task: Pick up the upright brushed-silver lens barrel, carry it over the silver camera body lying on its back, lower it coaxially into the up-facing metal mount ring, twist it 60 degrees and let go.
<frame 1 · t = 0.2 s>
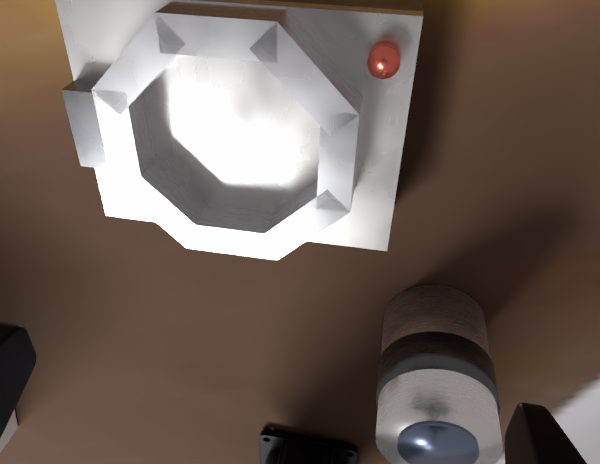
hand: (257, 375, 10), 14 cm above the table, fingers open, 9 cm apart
camera body: (256, 101, 22), on the table
lens: (433, 321, 27), on the table
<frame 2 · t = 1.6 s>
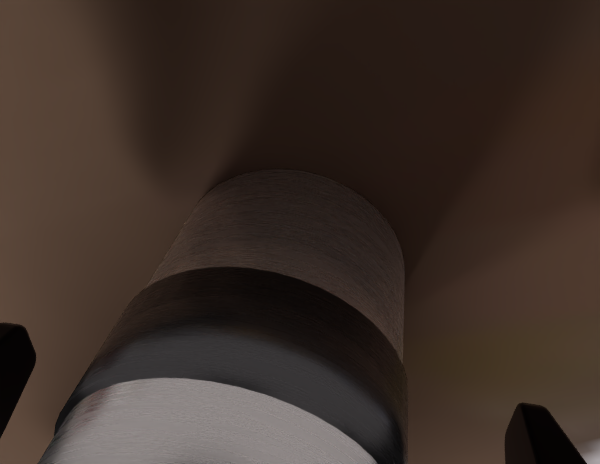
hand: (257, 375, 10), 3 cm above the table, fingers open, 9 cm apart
lens: (291, 267, 12), on the table
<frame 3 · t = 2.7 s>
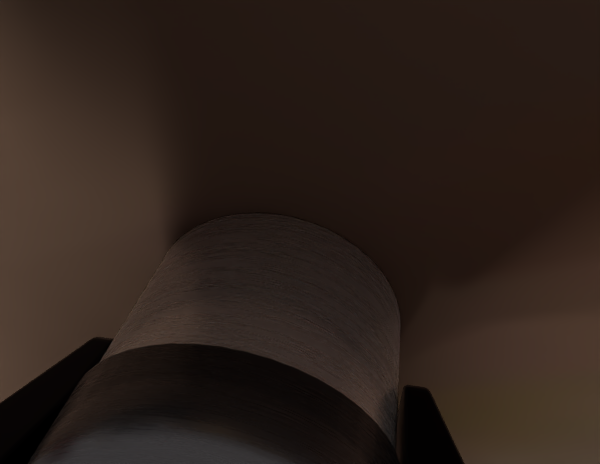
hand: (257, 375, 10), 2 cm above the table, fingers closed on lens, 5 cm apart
lens: (275, 316, 11), on the table, touching gripper
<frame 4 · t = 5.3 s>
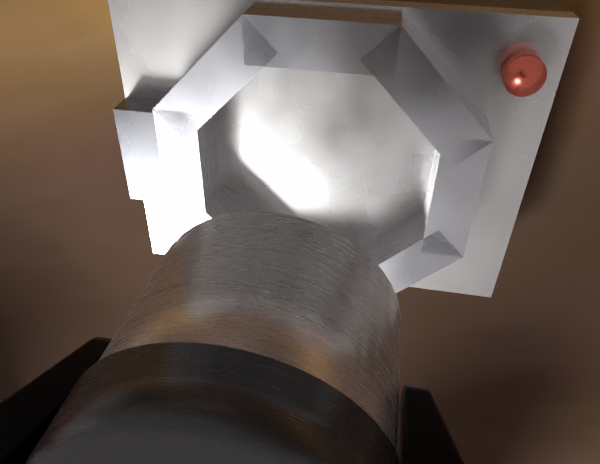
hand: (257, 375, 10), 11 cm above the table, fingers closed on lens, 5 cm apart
camera body: (333, 120, 18), on the table
lens: (275, 315, 11), point 10 cm above the table, touching gripper
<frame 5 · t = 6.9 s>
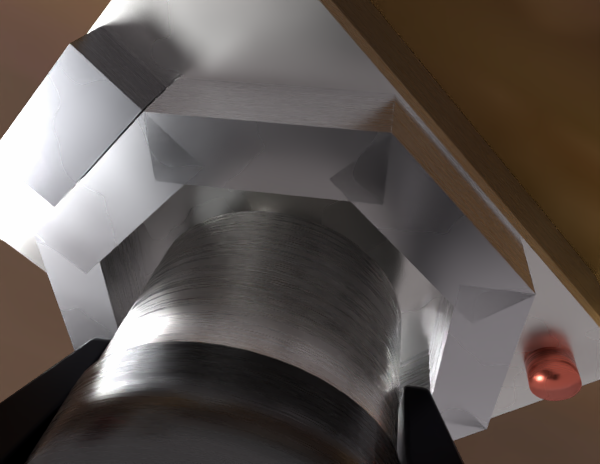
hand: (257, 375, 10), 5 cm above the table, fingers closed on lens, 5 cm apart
camera body: (308, 209, 14), on the table
lens: (275, 314, 11), point 4 cm above the table, touching gripper
when the fingers open (5 cm above the table, at t = 8.0 s): lens stays where it is, resting on camera body.
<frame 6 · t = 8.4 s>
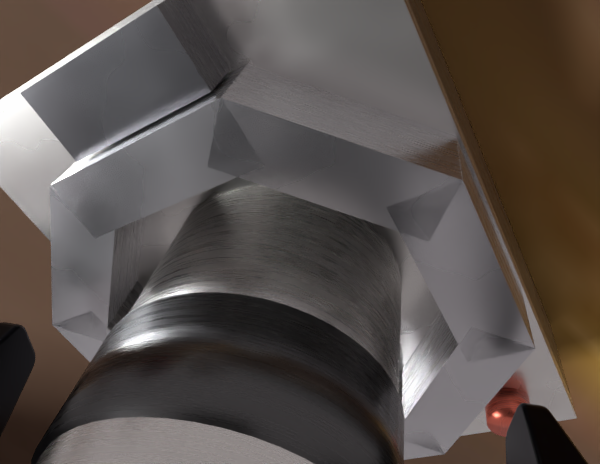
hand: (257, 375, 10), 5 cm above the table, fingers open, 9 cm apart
camera body: (308, 210, 14), on the table
lens: (284, 284, 12), point 3 cm above the table, touching camera body
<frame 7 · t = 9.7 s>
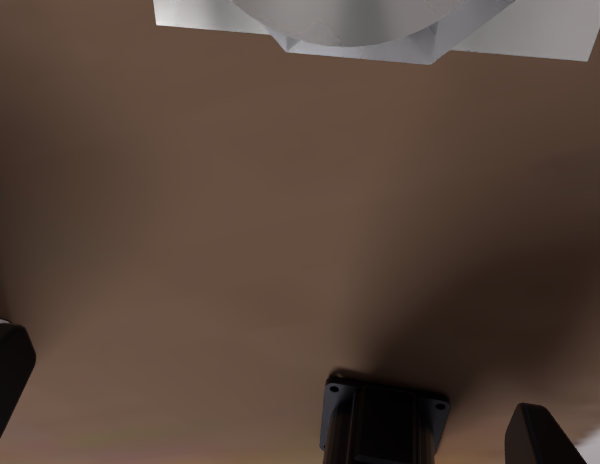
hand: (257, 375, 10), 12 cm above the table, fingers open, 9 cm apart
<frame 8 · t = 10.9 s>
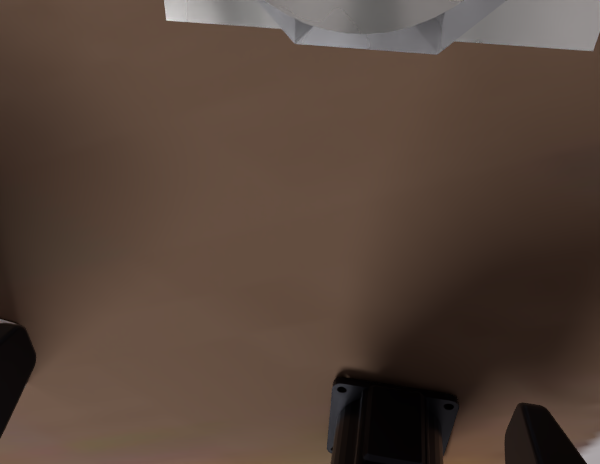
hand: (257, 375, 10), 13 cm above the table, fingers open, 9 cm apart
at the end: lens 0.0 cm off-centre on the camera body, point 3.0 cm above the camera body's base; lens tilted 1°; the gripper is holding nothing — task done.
